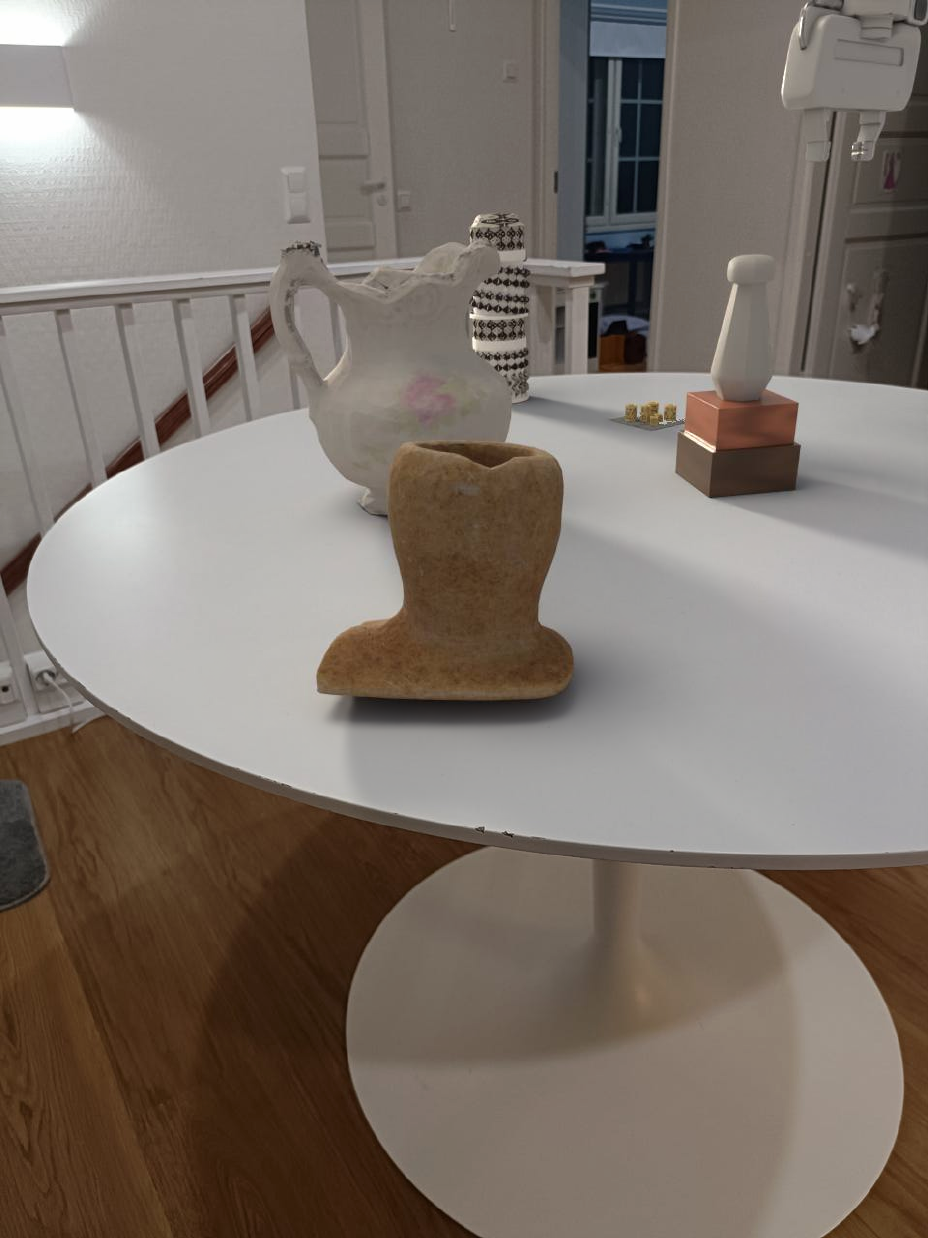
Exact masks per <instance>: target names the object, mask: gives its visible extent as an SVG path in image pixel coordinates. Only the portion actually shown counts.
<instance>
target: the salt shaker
mask: <svg viewBox="0 0 928 1238" xmlns="http://www.w3.org/2000/svg"><path fill="white" fill-rule="evenodd" d="M726 271H727V274H726V275H727V276H726V277H727V281H728V282H729V283H732V286H731V287H732V288H731V290H730V294H729V298H728V303H727V306H726V310H725V315H724V318H723V321H722V325H721V330H720V333H719V337H718V341H717V345H716V348H715V353H714V356H713V360H712V363H711V368H710V377H711V380H712V383H713V386H714V388H715V389H714V390H716V392H717V395H718V397H720V398H721V399H723V400H730V401H741V402H743V401H752V400H759V398H760V396H761V394H762V393H763V391H764V390H765V389H766V388H767V386H768V385H769V383H770V381H771V380H772V379H773V375H774V366H773V354H772V353H773V352H772V342H771V341H772V340H771V330H770V317H769V300H768V284H769V283H770V282H772V281H774V280H775V277H776V272H777V262H776V260H775V258H774V257H773V256H771V255H768V254H762V253H760V254H759V253H757V254H756V253H755V254H754V253H752V254H751V253H750V254H740V255H738V256H735V257H733V258H731V260H729V262H728V265H727V270H726Z"/></svg>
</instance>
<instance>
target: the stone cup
mask: <svg viewBox="0 0 928 1238" xmlns="http://www.w3.org/2000/svg"><path fill="white" fill-rule="evenodd" d="M564 483H565V482H564V476H563V469H562V467H561V465H560V463H559V460H557V458H556V457H555V456H554V455H552V454H551V453H550V452H548V451H546V450H544V449H541V448H538V447H535V446H530V445H525V444H520V443H514V442H506V441H505V442H494V441H466V440H455V441H442V440H435V441H428V442H427V441H412V442H408V443H405V444H403V445H402V446H400V447H399V448H398V450H397V452H396V454H395V456H394V458H393V461H392V465H391V469H390V472H389V477H388V484H387V511H388V515H387V520H388V525H389V526H388V527H389V529H390V535H391V540H392V545H393V551H394V554H395V558H396V561H397V565H398V568H399V573H400V577H401V581H402V589H403V590H402V591H403V602H402V606H401V608H400V609H399V610H398V612H397V613H396V614H395V615H393V616H392V617H390V618H383V619H374V620H366V621H363V622H361V624H359V625H354V626H350V627H349V628H347V629H346V630H344V631H342V632H340V633H339V634H338V635H337V636H336V637H335V638H334V639H333V641H332V642H331V643H330V645H329V647H328V648H327V650H326V651H325V653H323V656H322V659H321V661H320V663H319V666H318V668H317V670H316V676H315V678H316V692H318V693H319V694H322V695H331V696H344V697H345V696H346V697H361V698H365V697H366V698H378V699H379V698H381V699H401V700H402V699H403V700H404V699H405V700H427V701H428V700H432V701H434V700H435V701H514V700H535V699H542V698H543V699H544V698H548V697H553V696H555V695H557V694H559V693H560V692H562V691H564V690H565V689H566V688H567V686H568V685H569V683H570V681H571V679H572V677H573V675H574V671H575V657H574V653H573V649H572V646H571V644H570V643H569V642H568V641H567V639H565V637H564V636H563V635H562V634H560V633H559V632H558V631H556V630H554V629H552V628H550V627H547V626H545V625H542V624H541V622H540V619H539V608H540V601H541V594H542V591H543V588H544V585H545V582H546V579H547V576H548V574H549V572H550V569H551V566H552V563H553V560H554V557H555V554H556V552H557V549H558V548H557V547H558V544H559V540H560V536H561V531H562V519H563V517H562V516H563V515H562V514H563V504H564V496H565V495H564V491H565V490H564V488H565V485H564Z"/></svg>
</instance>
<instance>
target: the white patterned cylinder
mask: <svg viewBox="0 0 928 1238" xmlns="http://www.w3.org/2000/svg"><path fill="white" fill-rule="evenodd" d="M525 226H526V224H524V223H523V221H522V220H521V217H520V216H519V215H518V214H517V213H515V212H502V213H501V212H499V213H482V214H478V215H476V217H475V218H474V220H473V222H472V225H470V226H469V227H467V228H468V229H469V241H470V243H469V245H470V244H471V243H473V242H475V241H476V240H478V239H479V238H482V240H483V241H487V242H489V243H492V244H496V245H497V252H498V253H499V255H500V261H501V269H500V271H499V272H498V274H496V275H493V276H491V277H490V278H488V279H487V280H485V281H483V282H482V283H481V284H480V285H479V286H478V288H477V289H476V290H475V292H474V294H473V296H472V298H471V300H470V302H469V306H471V307H472V310H470V311H469V312H468V314H469V319H472V332H473V337H472V338H471V339H472V348H473V350H474V351H475V352H476V353H477V354H478V355H479V356H480V357H481V358H483V359H484V360H486V361H487V362H488V363H489V364H490V365H491V366H492V367H493V368H494V369H496V370H497V371H498V372H499V373H500V374H501V375H502V376H503V377H504V378H505V379H506V381H507V384H508V386H509V389H510V391H511V397H512V404H518V403H522V402H526V401H527V400H529V397H530V396H529V393H528V392H527V391H529V389H530V384H529V383H528V380H529V379H530V373H529V371H528V370H526V367H528V366H529V365H530V363H529V359H527V358H525V357H527V356H528V355H529V353H530V351H529V349H528V348H527V335H526V321H525V320H526V319H525V318H526V317H528V316H529V313H530V309H528V308H527V307H526V304H528V303H529V302H530V298H529V296H527V295H526V294H525V293H524V292H525V291H526V290H527V289H528V288H530V286H531V282H529V281H528V280H527V279H526V278H528V277H529V276H530V275H531V271H530V270H529V269H528V268H526V267H524V263H525V262H527V260H528V257H527V256H526V248H525ZM499 246H500V247H499ZM524 279H525V280H524Z"/></svg>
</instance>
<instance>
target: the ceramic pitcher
mask: <svg viewBox="0 0 928 1238" xmlns="http://www.w3.org/2000/svg"><path fill="white" fill-rule="evenodd" d="M322 246H323V245H322V244H321V243H318V242H314V241H312V240H309V242H306V241H305V242H302V241H299V240H296V241H295V243H294V244H292V242H287V247H286V248H285V249H284V248H283V249H282V248H281V249H280V251H281V256H280V259H279V263H278V265H277V267H276V268H275V270H274V272H273V273H272V275H271V277H270V283H269V288H268V301H269V309H270V317H271V322H272V326H273V330H274V335H275V338H276V340H277V342H278V343H279V345H280V347H281V349H282V351H283V353H284V355H285V358H286V359H287V361H288V363H289V365H290V367H291V369H292V371H293V372H294V374H296V375H297V376H298V378H300V380H301V382H302V384H303V385H304V388H305V391H306V399H307V407H308V418H309V419H310V421H311V422H312V424H313V426H314V427H315V430H316V435H317V439H318V443H319V444H320V446H321V448H322V451H323V453H324V454H325V456H326V458H327V460H328V461H329V462H330V463H331V464H332V465H333V467H334V468H335V469H336V470H337V471H338V473H339V474H340V475H341V476H342V477H343V478H345V480H347V481H349V482H351V483H354V484H355V485H358V486H361V487H365V488H367V489H366V491H365V493H364V495H363V496H362V497H360V499H358V500H357V502H358V504H359V505H360V506H361V507H362V508H363V509H364V510H365V511H366V512H367V513H368V514H371V515H381V516H388V511H387V484H388V477H389V472H390V469H391V465H392V461H393V458H394V456H395V454H396V452H397V450H398V448H399V447H400V446H402V445H403V444H405V443H408V442H412V441H427V442H428V441H435V440H442V441H455V440H466V441H494V442H505V443H506V442H507V438H508V434H509V431H510V427H511V420H512V414H513V413H512V412H513V411H512V410H513V403H512V397H511V391H510V389H509V386H508V384H507V381H506V379H505V378H504V377H503V376H502V375H501V374H500V373H499V372H498V371H497V370H496V369H494V368H493V367H492V366H491V365H490V364H489V363H488V362H487V361H486V360H484V359H483V358H481V357H480V356H479V355H478V354H477V353H476V352H475V351H474V350H473V346H472V345H471V343H470V341H469V338H468V334H467V330H466V318H467V313H468V309H469V306H470V304H469V302H470V300H471V298H472V296H473V294H474V292H475V290H476V289H477V288H478V286H479V285H480V284H481V283H482V282H483V281H485V280H487V279H488V278H490V277H491V276H493V275H496V274H498V272H499V271H500V269H501V261H500V255H499V253H498V252H497V245H496V244H492V243H489V242H487V241H483V240H482V238H479V239H478V240H476V241H475V242H473V243H471V244H470V243H469V245H468V246H467V245H465V244H463V243H459V242H456V241H455V242H454V241H449V242H446V243H445V244H442V245H440V246H437V247H434V248H432V249H431V250H430V251H429V252H427V254H425V256H424V257H423V258H422V260H421V261H420V263H419V264H418V265H417V266H416V267H415V268H414V269H413V270H412V269H411V270H410V269H397V268H395V267H392V266H388V265H383V264H382V265H380V266H378V267H376V268H374V269H372V271H371V272H370V273H368V275H367V276H366V277H365V278H364V279H363V281H362V282H361V283H352V282H351V283H349V282H344V281H342V280H341V281H340V280H339V279H338V278H337V277H336V276H334V274H333V273H332V272H331V271H330V270H329V268H328V267H327V264H326V263H325V261H324V259H323V258H322V257H321V253H320V248H322ZM499 247H500V246H499ZM301 286H302V287H303V286H307V287H308V286H309V287H314V288H315V289H317V290H319V291H320V292H321V293H323V294H324V296H326V297H327V298H328V299H330V300H333V301H334V302H335V303H336V304H337V305H338V307H339V311H340V314H341V317H342V320H343V325H344V330H345V334H346V339H345V351H344V353H343V354H342V356H341V357H340V359H339V361H338V363H337V365H336V366H335V367H334V368H333V369H332V370H331V371H330V372H329V373H328V374H327V375H326V377H325V378H322V377H321V375H320V373H319V371H318V369H317V367H316V365H315V363H314V360H313V359H314V358H313V357H312V354H311V352H310V350H309V348H308V345H307V344H306V343H305V341H304V339H303V337H302V335H301V334H300V332H299V330H298V328H297V325H296V319H295V295H296V291H297V290H298V289H299V288H300V287H301Z"/></svg>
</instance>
